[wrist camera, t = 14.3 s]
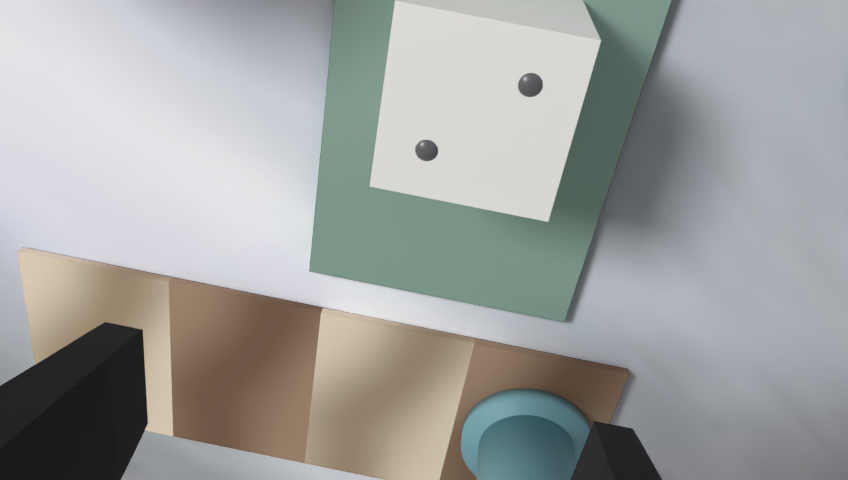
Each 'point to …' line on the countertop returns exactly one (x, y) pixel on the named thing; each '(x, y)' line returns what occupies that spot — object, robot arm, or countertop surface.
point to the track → (299, 370)
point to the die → (483, 101)
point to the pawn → (523, 436)
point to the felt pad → (458, 224)
